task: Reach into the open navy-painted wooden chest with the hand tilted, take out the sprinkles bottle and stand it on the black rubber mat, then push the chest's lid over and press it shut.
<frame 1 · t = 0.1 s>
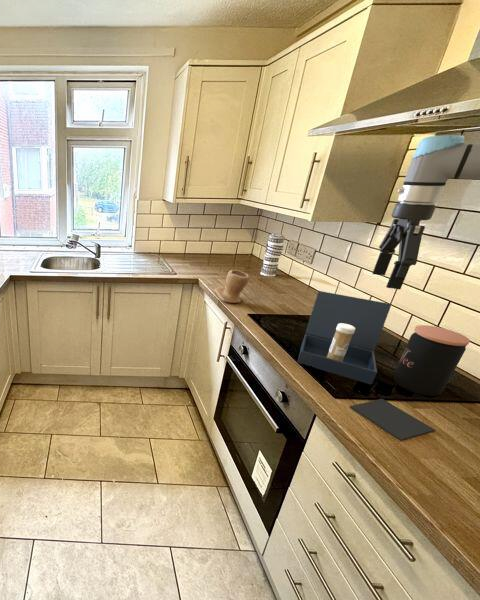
hand: (385, 281, 89), 31 cm above the worktop, tool pointing down, fingers open, 13 cm apart
chest: (333, 362, 107), on the worktop
chest lid: (345, 319, 108), point 13 cm above the worktop, hinge at 100.0°
mat: (390, 418, 82), on the worktop
sprinkles bottle: (333, 361, 106), resting on chest
stone cup: (229, 299, 159), on the worktop
leaning tower model: (267, 274, 198), on the worktop
coffee jar: (415, 386, 95), on the worktop
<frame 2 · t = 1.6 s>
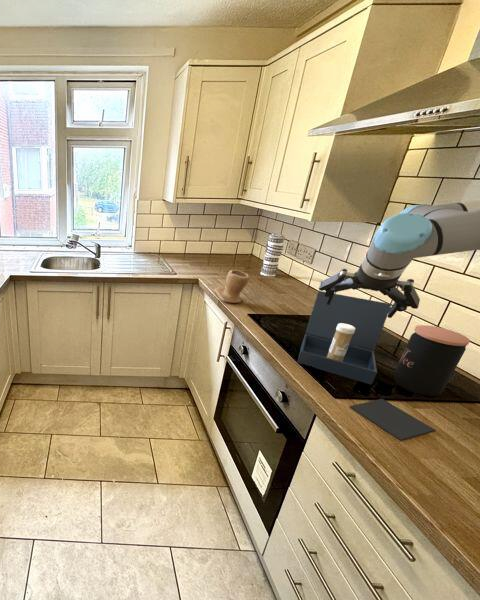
hand: (358, 306, 90), 24 cm above the worktop, tool tilted 45°, fingers open, 13 cm apart
nothing on the worktop moved.
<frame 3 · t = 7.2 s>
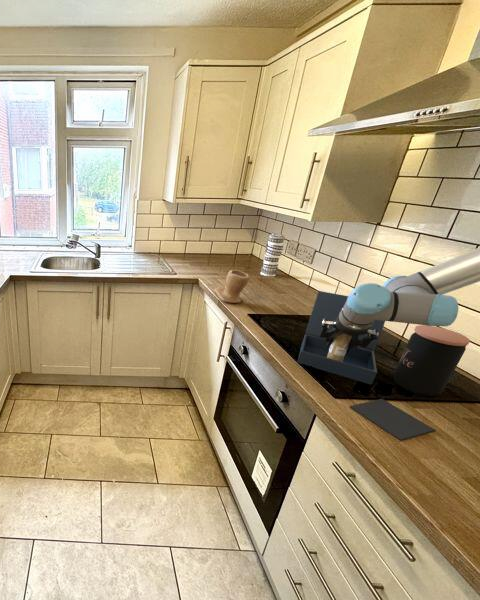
hand: (337, 346, 107), 5 cm above the worktop, tool tilted 45°, fingers closed on sprinkles bottle, 4 cm apart
sprinkles bottle: (333, 361, 106), resting on chest, touching gripper
everything else where it was.
when the fingers open (5 cm above the worktop, at t = 16.7 s): sprinkles bottle stays where it is, resting on mat.
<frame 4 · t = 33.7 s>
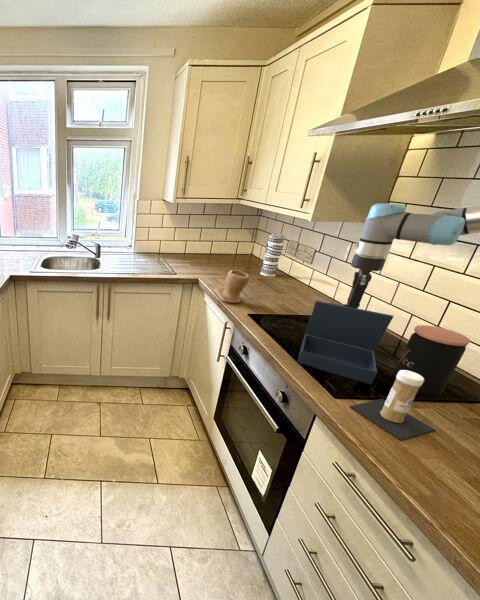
hand: (345, 324, 106), 12 cm above the worktop, tool pointing down, fingers closed
chest lid: (345, 325, 105), point 12 cm above the worktop, hinge at 67.2°, touching gripper
sprinkles bottle: (390, 418, 82), resting on mat
everything else where it was.
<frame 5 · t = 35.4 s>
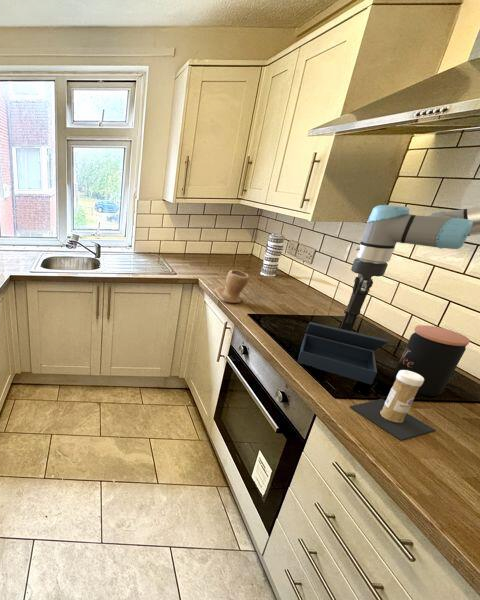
hand: (345, 331, 101), 12 cm above the worktop, tool pointing down, fingers closed
chest lid: (342, 336, 104), point 10 cm above the worktop, hinge at 35.4°, touching gripper
everything else where it was.
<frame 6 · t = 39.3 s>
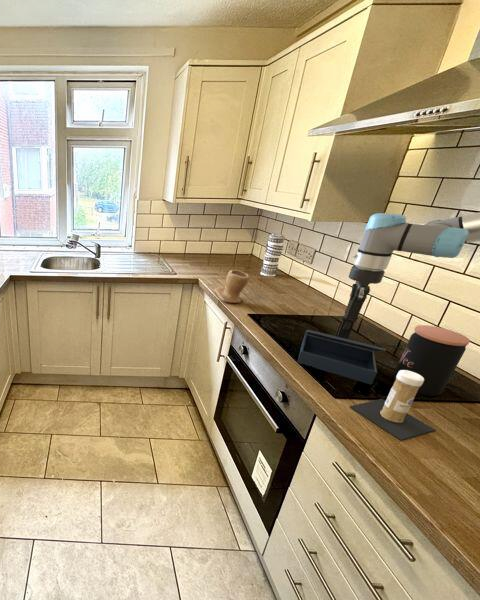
hand: (342, 337, 102), 10 cm above the worktop, tool pointing down, fingers closed
chest lid: (341, 340, 104), point 8 cm above the worktop, hinge at 25.7°
everything else where it was.
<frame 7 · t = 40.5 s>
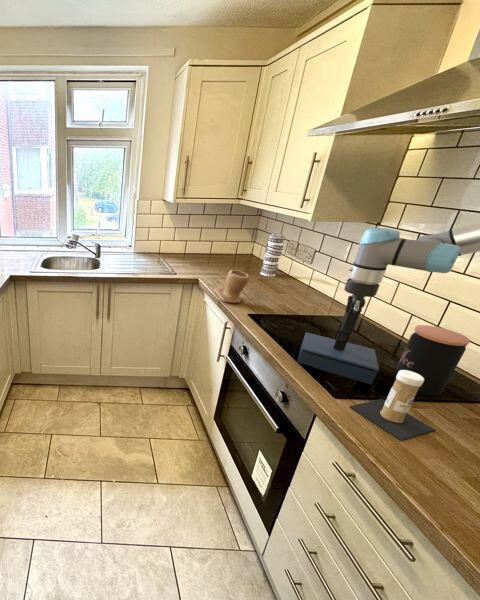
hand: (338, 348, 104), 6 cm above the worktop, tool pointing down, fingers closed
chest lid: (338, 349, 104), point 5 cm above the worktop, hinge at 2.7°, touching gripper
everything else where it was.
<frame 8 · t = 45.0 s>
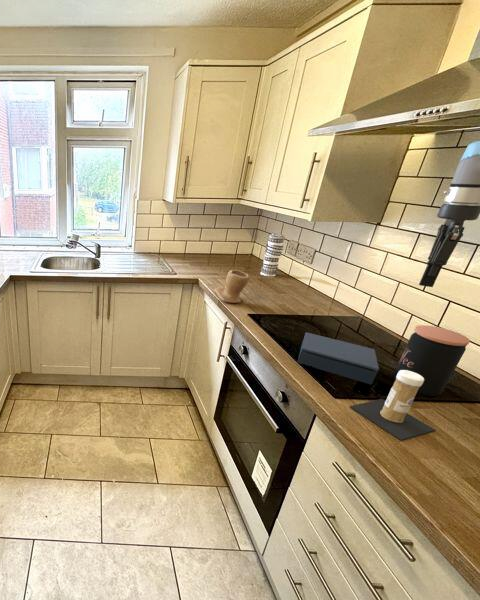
hand: (425, 285, 94), 28 cm above the worktop, tool pointing down, fingers closed
chest lid: (338, 349, 104), point 5 cm above the worktop, hinge at 2.6°
everything else where it was.
at the end: sprinkles bottle inside the target area on the mat (0.1 cm from its centre), point 0.3 cm above the mat's base; sprinkles bottle tilted 0°; chest lid at +3° (first picture: +100°) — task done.
